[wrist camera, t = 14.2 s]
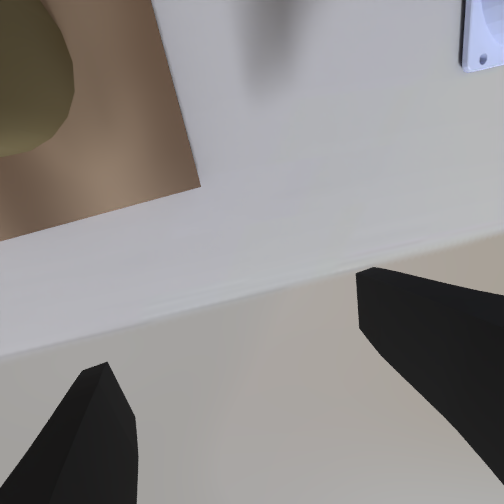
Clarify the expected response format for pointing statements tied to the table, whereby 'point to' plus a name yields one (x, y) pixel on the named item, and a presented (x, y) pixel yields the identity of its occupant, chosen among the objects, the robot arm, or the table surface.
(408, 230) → the table surface
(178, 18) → the table surface
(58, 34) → the cork
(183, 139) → the light brown board
